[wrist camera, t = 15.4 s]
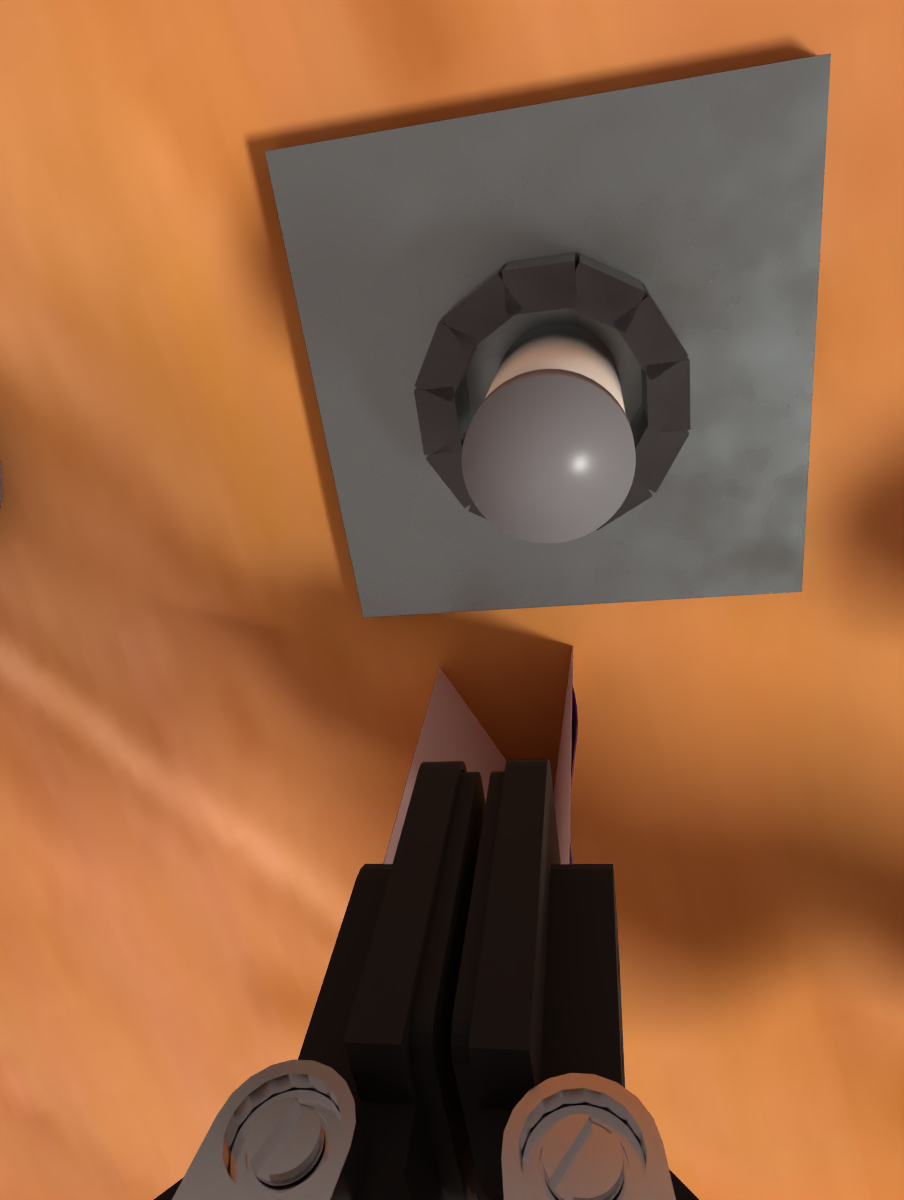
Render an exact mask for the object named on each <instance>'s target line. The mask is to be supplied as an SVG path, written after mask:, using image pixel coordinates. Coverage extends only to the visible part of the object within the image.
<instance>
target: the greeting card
mask: <svg viewBox="0 0 904 1200" xmlns="http://www.w3.org/2000/svg"><path fill="white" fill-rule="evenodd" d="M572 681H573V646H572V652H571V660H570V668H569V676H568V684H567V692H566V700H565V708H564V715H563V723H562V731H561V739H560V747H559V755H558V763H557V771H556V779H555V787H554V803H555V813H556V822H557V831H558V841H559V850H560V859H561V864H574V861H573V852H572V843H571V829H570V803H571V785H572V776H573V768H574V759H575V751H576V742H577V730H578V716H577V705H576V699H575V693H574V689H573V685H572ZM440 761H463V762H464V763H465V765H466V769H467V772H480V774H481V778H482V784H483V790H484V797H485V803H486V798H487V791H488V785H489V779H490V774H491V772H492V771H505V766H506V762H507V761H506V759H505V758H504V757H503V755H502V754H501V752H500V751H499V750H498V748H497V747H496V745H495V744H494V743H493V741H492V740H491V738H490V737H489V735H488V734H487V733H486V731H485V730H484V728H483V727H482V726H481V724H480V723H479V721H478V720H477V719H476V717H475V716H474V714H473V713H472V712H471V710H470V709H469V707H468V706H467V705H466V703H465V702H464V700H463V699H462V698H461V696H460V695H459V693H458V692H457V691H456V689H455V688H454V686H453V685H452V684H451V682H450V681H449V679H448V678H447V677H446V675H445V674H444V672H443V671H442V670H441V668H440V667H439V670H438V673H437V677H436V680H435V684H434V687H433V691H432V694H431V698H430V701H429V705H428V708H427V712H426V715H425V719H424V722H423V726H422V729H421V733H420V736H419V740H418V743H417V747H416V750H415V754H414V757H413V761H412V764H411V768H410V771H409V775H408V778H407V782H406V785H405V789H404V792H403V796H402V799H401V803H400V806H399V810H398V813H397V817H396V820H395V824H394V827H393V831H392V834H391V838H390V841H389V845H388V848H387V852H386V855H385V859H384V862H383V864H393V860H394V857H395V853H396V849H397V846H398V842H399V839H400V835H401V831H402V828H403V824H404V821H405V817H406V813H407V810H408V806H409V803H410V799H411V795H412V792H413V788H414V784H415V781H416V777H417V774H418V770H419V767H420V765H421V763H422V762H440Z"/></svg>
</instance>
